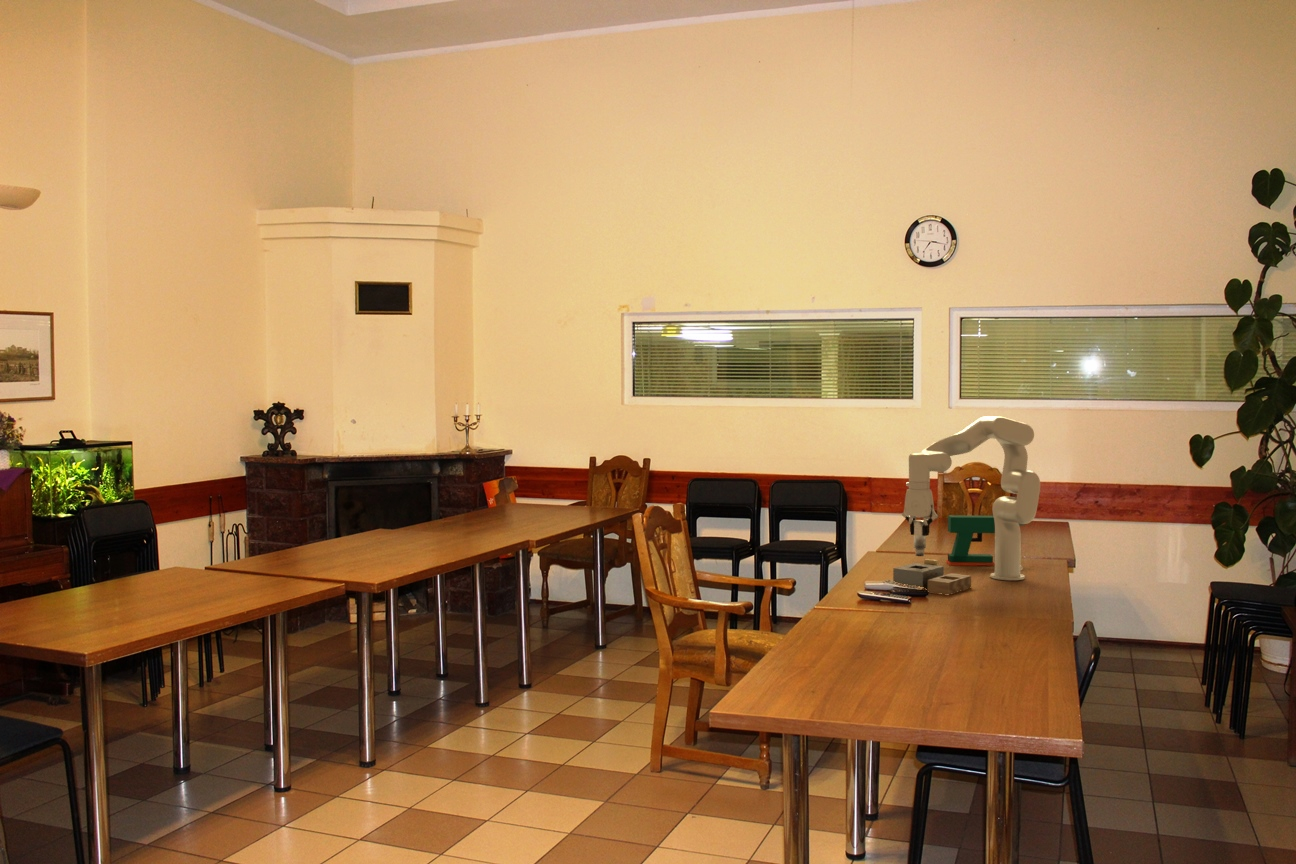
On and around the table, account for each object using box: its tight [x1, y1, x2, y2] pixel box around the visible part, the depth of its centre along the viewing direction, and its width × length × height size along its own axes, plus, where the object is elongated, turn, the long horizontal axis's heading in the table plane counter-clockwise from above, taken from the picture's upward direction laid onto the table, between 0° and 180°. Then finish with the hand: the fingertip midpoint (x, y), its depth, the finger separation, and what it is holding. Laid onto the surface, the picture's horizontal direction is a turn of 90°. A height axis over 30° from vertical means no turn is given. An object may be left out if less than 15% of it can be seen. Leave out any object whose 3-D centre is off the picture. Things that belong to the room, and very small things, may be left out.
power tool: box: [945, 514, 1027, 566], centre depth 442 cm, size 32×7×20 cm, turn 84°
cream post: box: [913, 519, 927, 557], centre depth 395 cm, size 4×4×13 cm
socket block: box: [892, 562, 945, 589], centre depth 396 cm, size 16×12×7 cm
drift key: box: [923, 558, 939, 566], centre depth 401 cm, size 8×5×7 cm, turn 138°
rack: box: [927, 573, 972, 595], centre depth 387 cm, size 18×8×4 cm, turn 138°
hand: (919, 534), depth 395 cm, fingers closed on cream post, 4 cm apart
